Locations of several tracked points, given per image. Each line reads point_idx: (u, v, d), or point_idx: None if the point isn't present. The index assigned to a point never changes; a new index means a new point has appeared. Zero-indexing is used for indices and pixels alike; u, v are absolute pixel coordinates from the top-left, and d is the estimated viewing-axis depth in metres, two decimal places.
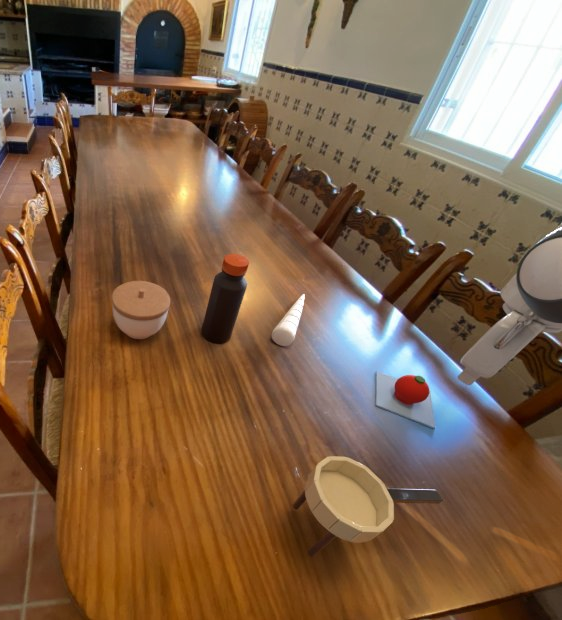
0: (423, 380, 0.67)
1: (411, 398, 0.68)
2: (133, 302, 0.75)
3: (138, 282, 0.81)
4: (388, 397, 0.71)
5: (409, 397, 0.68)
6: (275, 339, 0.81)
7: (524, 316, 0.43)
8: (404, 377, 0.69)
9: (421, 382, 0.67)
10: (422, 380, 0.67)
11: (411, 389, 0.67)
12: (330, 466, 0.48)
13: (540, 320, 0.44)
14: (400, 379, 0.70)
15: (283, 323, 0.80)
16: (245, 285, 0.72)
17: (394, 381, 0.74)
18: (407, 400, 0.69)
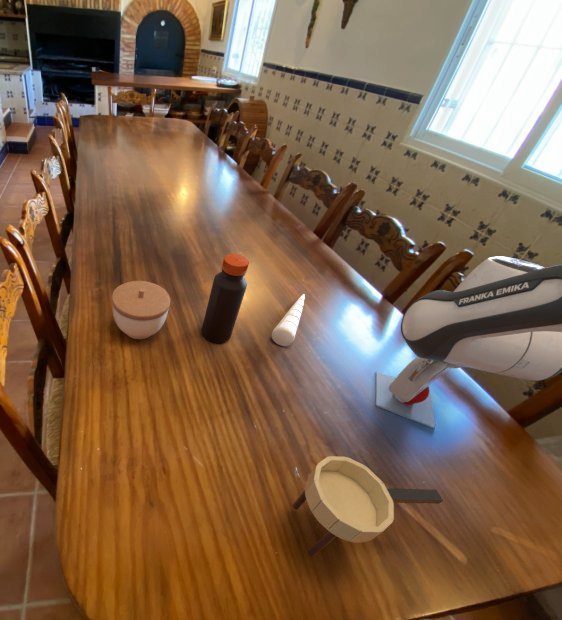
0: None
1: None
2: (133, 302, 0.75)
3: (138, 282, 0.81)
4: (388, 397, 0.71)
5: None
6: (275, 339, 0.81)
7: None
8: None
9: None
10: None
11: None
12: (330, 466, 0.48)
13: None
14: None
15: (283, 323, 0.80)
16: (245, 285, 0.72)
17: None
18: None
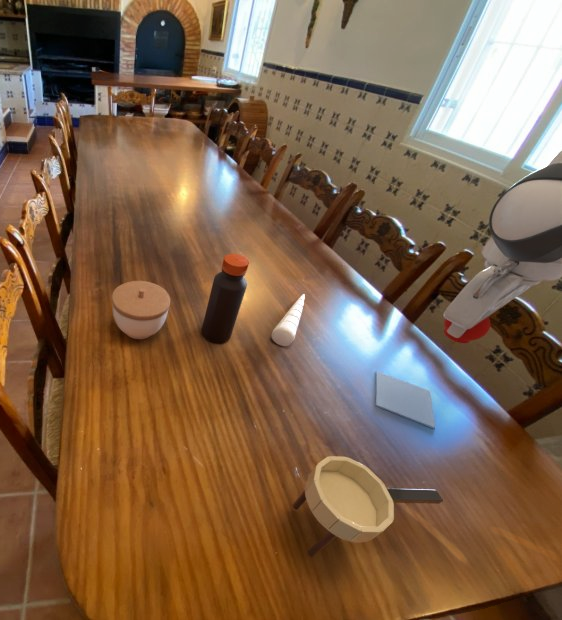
0: None
1: (468, 333, 0.55)
2: (133, 302, 0.75)
3: (138, 282, 0.81)
4: (388, 397, 0.71)
5: (466, 331, 0.55)
6: (275, 339, 0.81)
7: (500, 266, 0.45)
8: None
9: None
10: None
11: None
12: (330, 466, 0.48)
13: (517, 272, 0.47)
14: None
15: (283, 323, 0.80)
16: (245, 285, 0.72)
17: (394, 381, 0.74)
18: (462, 336, 0.56)
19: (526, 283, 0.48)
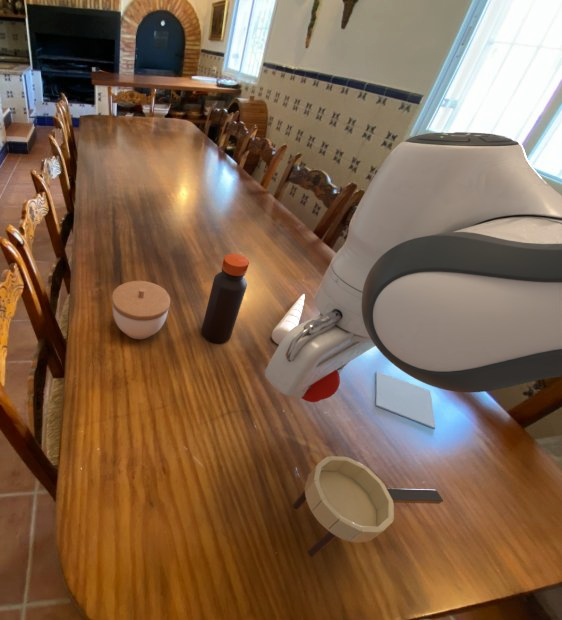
0: None
1: (311, 392, 0.44)
2: (133, 302, 0.75)
3: (138, 282, 0.81)
4: (388, 397, 0.71)
5: (309, 390, 0.44)
6: (275, 339, 0.81)
7: (312, 321, 0.34)
8: None
9: None
10: None
11: None
12: (330, 466, 0.48)
13: (342, 326, 0.36)
14: None
15: (283, 323, 0.80)
16: (245, 285, 0.72)
17: (394, 381, 0.74)
18: (307, 395, 0.45)
19: (359, 339, 0.37)
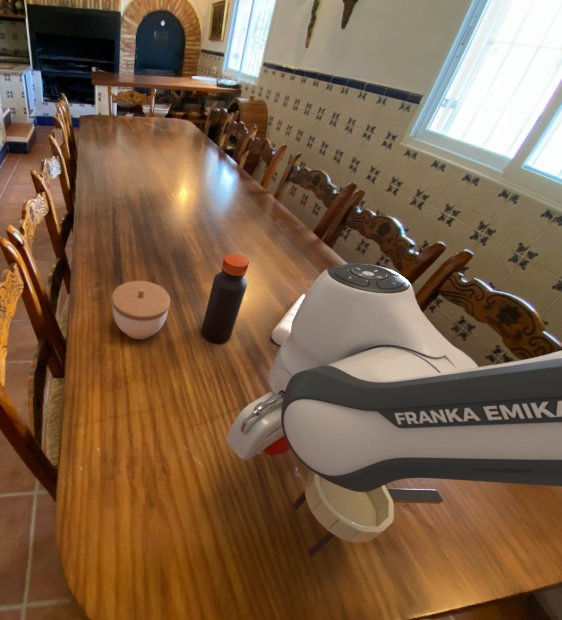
0: None
1: (269, 448, 0.51)
2: (133, 302, 0.75)
3: (138, 282, 0.81)
4: None
5: None
6: (275, 339, 0.81)
7: (260, 404, 0.41)
8: None
9: None
10: None
11: None
12: None
13: None
14: None
15: (283, 323, 0.80)
16: (245, 285, 0.72)
17: None
18: (266, 450, 0.52)
19: None
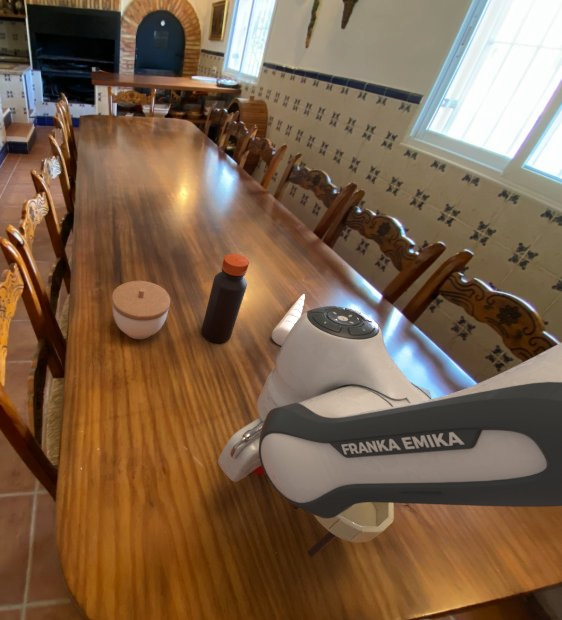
0: None
1: (256, 470, 0.55)
2: (133, 302, 0.75)
3: (138, 282, 0.81)
4: None
5: None
6: (275, 339, 0.81)
7: (248, 432, 0.45)
8: None
9: None
10: None
11: None
12: None
13: None
14: None
15: (283, 323, 0.80)
16: (245, 285, 0.72)
17: None
18: (254, 471, 0.56)
19: None
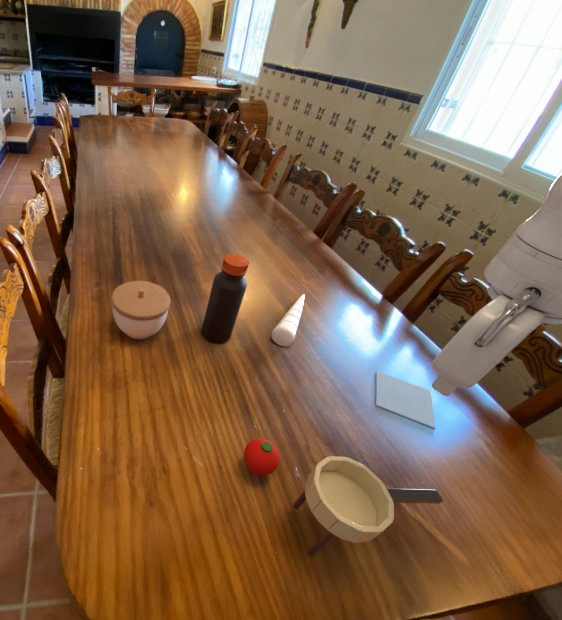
0: (270, 448, 0.55)
1: (256, 470, 0.55)
2: (133, 302, 0.75)
3: (138, 282, 0.81)
4: (388, 397, 0.71)
5: (254, 468, 0.55)
6: (275, 339, 0.81)
7: (515, 300, 0.30)
8: (252, 442, 0.57)
9: (267, 451, 0.55)
10: (268, 448, 0.55)
11: (255, 459, 0.55)
12: (330, 466, 0.48)
13: (538, 306, 0.32)
14: (248, 444, 0.57)
15: (283, 323, 0.80)
16: (245, 285, 0.72)
17: (394, 381, 0.74)
18: (254, 471, 0.56)
19: (550, 321, 0.33)
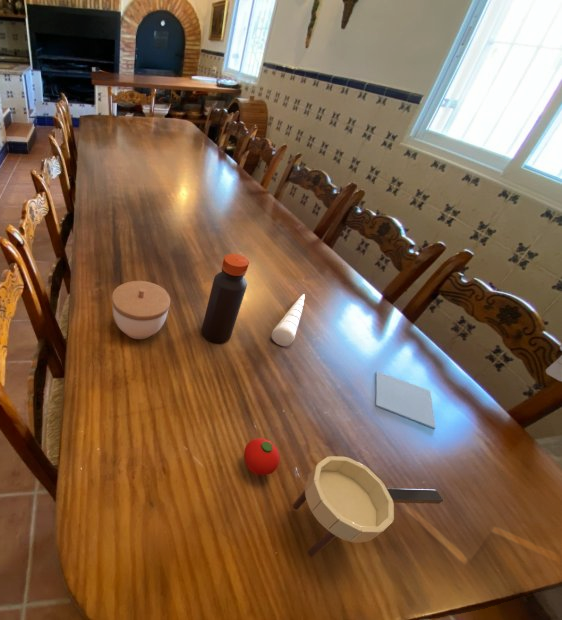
0: (270, 448, 0.55)
1: (256, 470, 0.55)
2: (133, 302, 0.75)
3: (138, 282, 0.81)
4: (388, 397, 0.71)
5: (254, 468, 0.55)
6: (275, 339, 0.81)
7: None
8: (252, 442, 0.57)
9: (267, 451, 0.55)
10: (268, 448, 0.55)
11: (255, 459, 0.55)
12: (330, 466, 0.48)
13: None
14: (248, 444, 0.57)
15: (283, 323, 0.80)
16: (245, 285, 0.72)
17: (394, 381, 0.74)
18: (254, 471, 0.56)
19: None
